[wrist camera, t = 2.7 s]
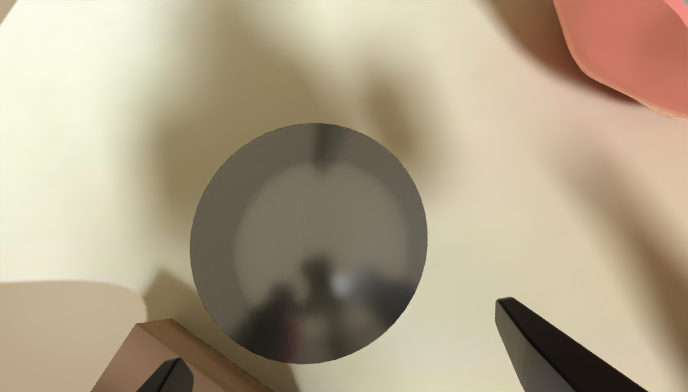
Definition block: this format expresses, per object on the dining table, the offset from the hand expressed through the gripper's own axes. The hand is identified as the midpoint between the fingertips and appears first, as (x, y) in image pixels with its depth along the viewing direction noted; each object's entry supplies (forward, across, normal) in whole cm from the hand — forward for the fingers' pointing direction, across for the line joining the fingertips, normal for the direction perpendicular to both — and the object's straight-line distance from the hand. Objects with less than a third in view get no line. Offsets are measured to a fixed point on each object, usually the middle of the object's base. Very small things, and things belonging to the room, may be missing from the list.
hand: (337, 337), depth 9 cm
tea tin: (+9, 0, +5) cm, 10 cm away
